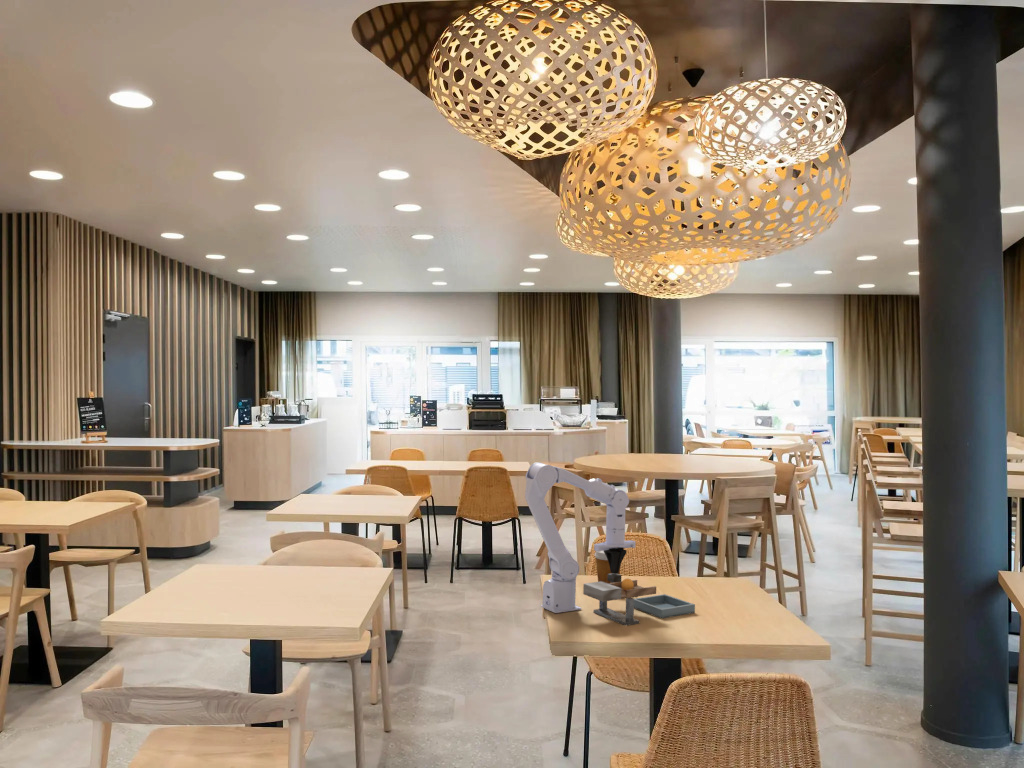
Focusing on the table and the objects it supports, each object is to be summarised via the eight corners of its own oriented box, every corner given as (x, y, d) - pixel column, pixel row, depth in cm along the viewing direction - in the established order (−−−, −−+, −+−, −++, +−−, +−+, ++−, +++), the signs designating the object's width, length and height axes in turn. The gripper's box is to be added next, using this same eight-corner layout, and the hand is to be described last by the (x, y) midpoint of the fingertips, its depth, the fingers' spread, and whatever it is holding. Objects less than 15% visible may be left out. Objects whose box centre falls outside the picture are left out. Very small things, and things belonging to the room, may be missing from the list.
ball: (626, 592, 225) (626, 580, 225) (618, 590, 228) (619, 578, 228) (636, 591, 227) (636, 579, 227) (628, 588, 230) (628, 576, 230)
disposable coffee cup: (621, 592, 255) (622, 555, 255) (592, 589, 257) (593, 553, 257) (623, 585, 264) (624, 549, 264) (595, 583, 266) (595, 547, 266)
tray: (661, 618, 226) (661, 609, 226) (632, 607, 237) (632, 599, 237) (694, 612, 233) (694, 604, 233) (664, 602, 244) (664, 594, 244)
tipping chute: (602, 602, 217) (602, 590, 217) (567, 588, 232) (567, 577, 232) (656, 594, 227) (656, 583, 227) (618, 581, 242) (619, 571, 242)
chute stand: (625, 625, 218) (626, 600, 218) (593, 612, 230) (594, 588, 230) (639, 623, 221) (639, 598, 221) (607, 610, 233) (607, 586, 233)
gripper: (604, 532, 232) (603, 578, 232) (642, 528, 240) (641, 573, 239) (590, 528, 238) (589, 573, 238) (627, 525, 246) (626, 568, 245)
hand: (614, 573), depth 239 cm, fingers closed
